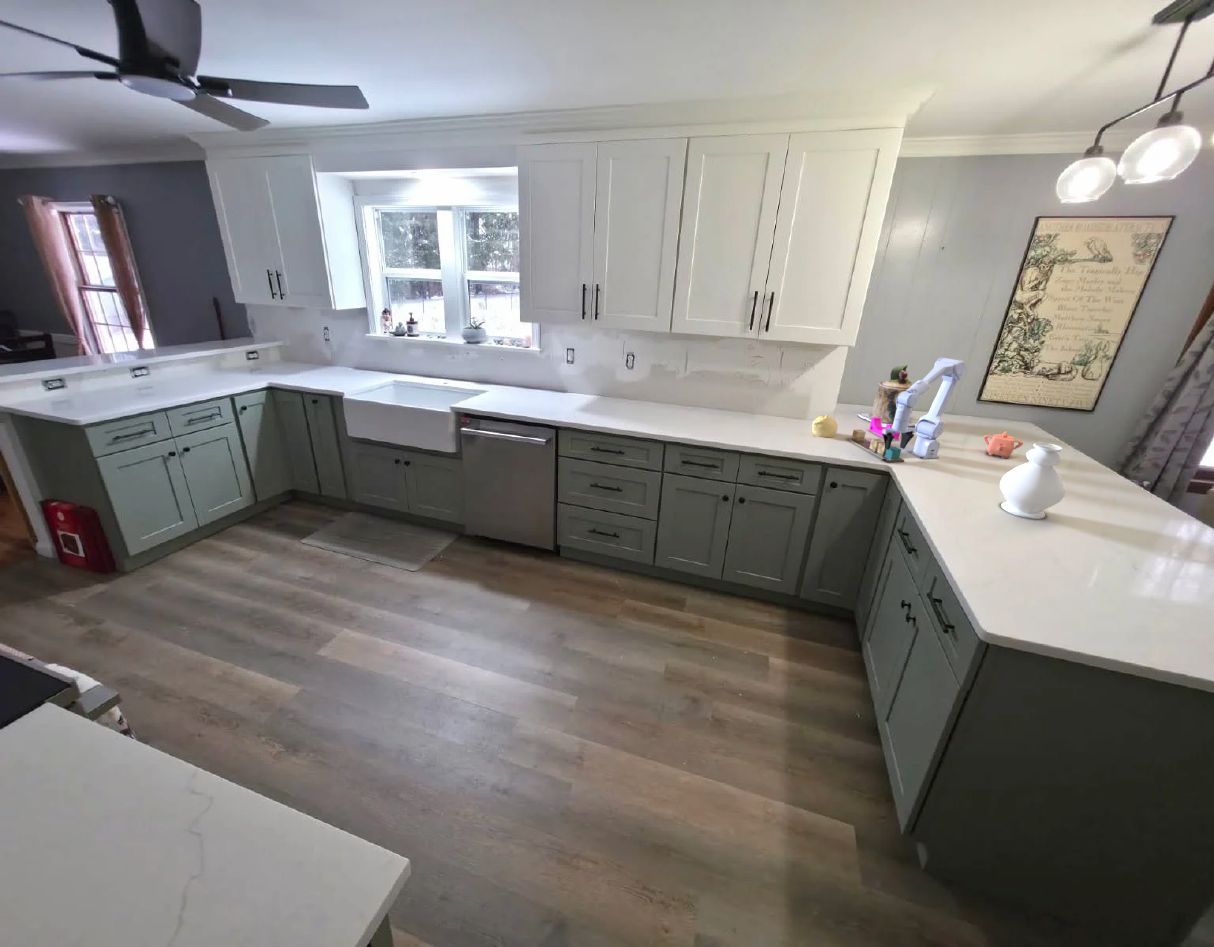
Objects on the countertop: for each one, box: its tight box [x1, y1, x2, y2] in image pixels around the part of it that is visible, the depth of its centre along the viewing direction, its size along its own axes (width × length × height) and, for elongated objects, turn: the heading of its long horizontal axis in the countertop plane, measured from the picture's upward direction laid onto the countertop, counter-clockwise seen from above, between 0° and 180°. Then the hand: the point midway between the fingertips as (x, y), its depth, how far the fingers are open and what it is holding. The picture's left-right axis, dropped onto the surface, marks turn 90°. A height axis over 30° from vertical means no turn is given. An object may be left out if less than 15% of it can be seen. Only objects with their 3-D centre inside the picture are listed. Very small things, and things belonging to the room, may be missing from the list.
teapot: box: [983, 430, 1024, 459], centre depth 229 cm, size 14×12×10 cm
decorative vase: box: [999, 441, 1066, 520], centre depth 174 cm, size 18×18×25 cm
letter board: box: [847, 428, 905, 464], centre depth 234 cm, size 31×8×6 cm, turn 9°
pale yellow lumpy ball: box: [811, 414, 838, 438], centre depth 251 cm, size 12×12×11 cm
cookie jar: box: [857, 362, 919, 427], centre depth 272 cm, size 25×25×32 cm
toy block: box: [868, 417, 901, 441], centre depth 254 cm, size 15×6×8 cm, turn 7°
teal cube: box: [885, 446, 902, 459], centre depth 222 cm, size 4×4×4 cm
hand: (894, 448), depth 222 cm, fingers open, 7 cm apart
